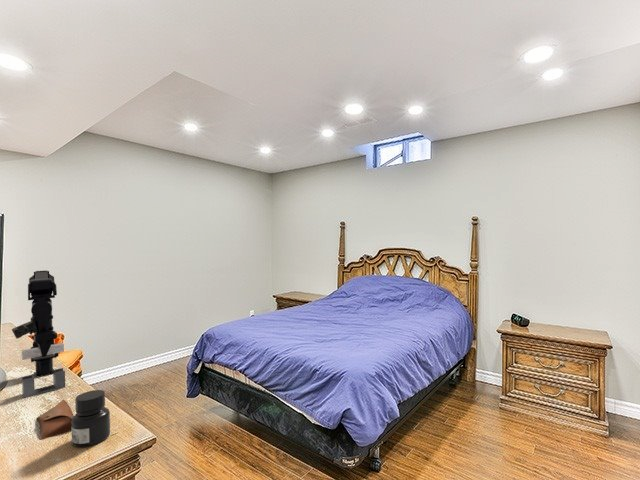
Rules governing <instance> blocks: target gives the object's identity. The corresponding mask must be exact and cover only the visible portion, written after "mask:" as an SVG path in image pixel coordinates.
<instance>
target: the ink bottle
mask: <svg viewBox="0 0 640 480" xmlns="http://www.w3.org/2000/svg"><path fill="white" fill-rule="evenodd" d="M74 402H75V405H74V406H75V412H76V413H75V414H74V417H73V418H72V420H71V431H70V432H71V444H72V446H73V447H76V448H86V447H91V446H93V445H97V444H99V443H101V442H103V441H104V440H106V439H107V438H108V437H109V436H110V433H111V416H110V415H111V414H110V413H111V412H110V411H111V410H110V409H109V407H105V405H106V392H105V391H104V390H103V389H93V390H89V391H85V392H83V393H80V394H78V395H76V396H75V400H74Z"/></svg>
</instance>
